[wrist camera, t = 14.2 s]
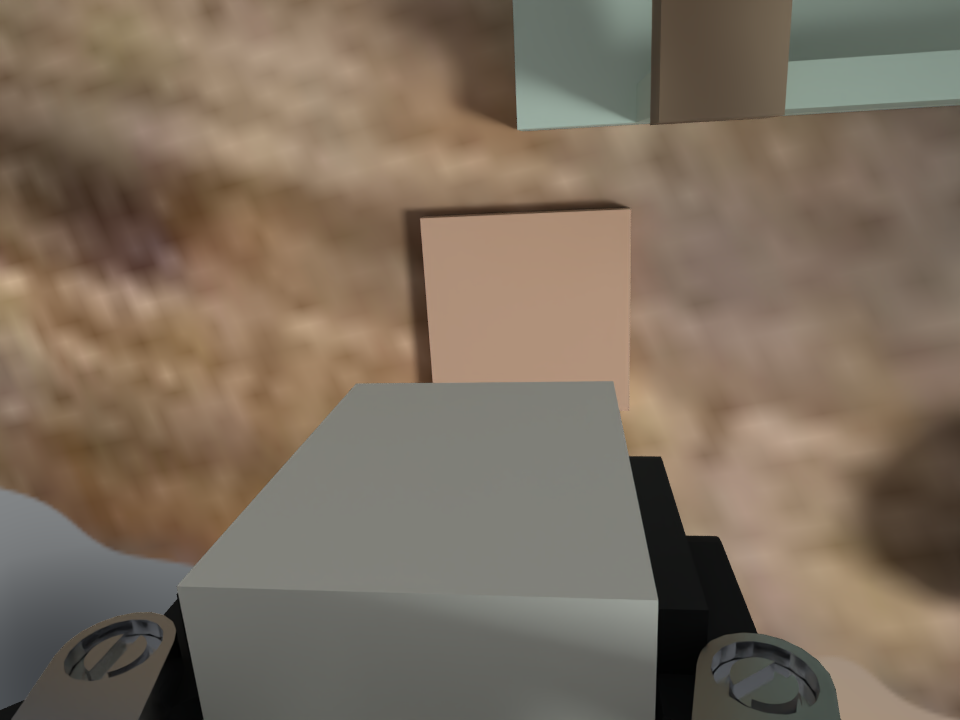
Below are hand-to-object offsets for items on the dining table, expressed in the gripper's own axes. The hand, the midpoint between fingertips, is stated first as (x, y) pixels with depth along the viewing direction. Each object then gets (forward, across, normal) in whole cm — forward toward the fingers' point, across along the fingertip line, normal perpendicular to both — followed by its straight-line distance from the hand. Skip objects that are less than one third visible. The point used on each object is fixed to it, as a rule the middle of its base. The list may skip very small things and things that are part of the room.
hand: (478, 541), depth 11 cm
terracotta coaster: (+18, 0, 0) cm, 18 cm away
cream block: (+1, 0, 0) cm, 1 cm away
